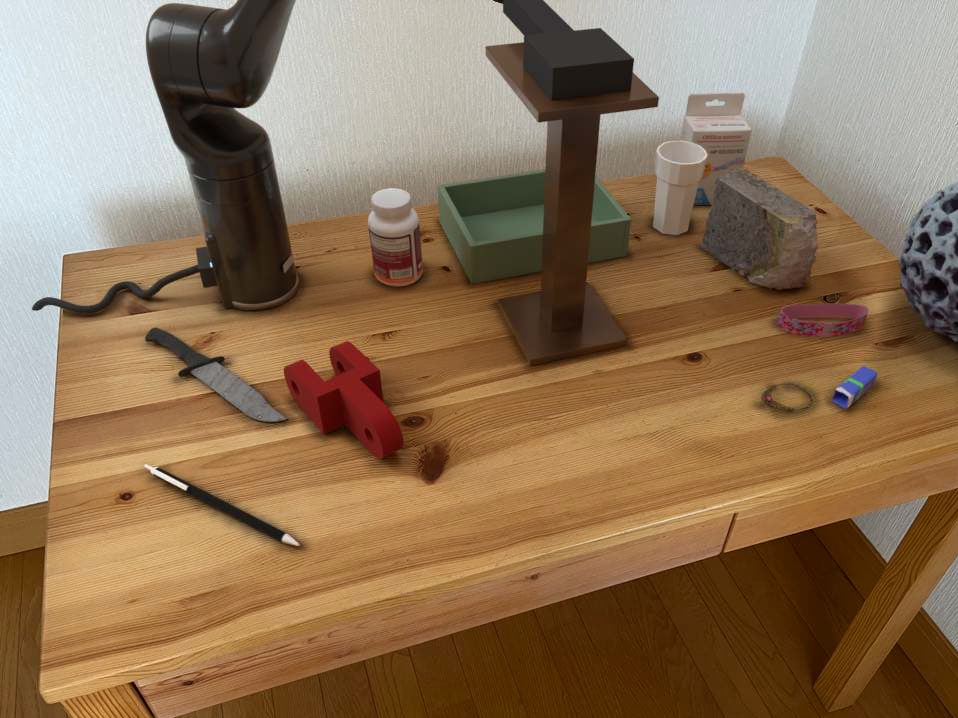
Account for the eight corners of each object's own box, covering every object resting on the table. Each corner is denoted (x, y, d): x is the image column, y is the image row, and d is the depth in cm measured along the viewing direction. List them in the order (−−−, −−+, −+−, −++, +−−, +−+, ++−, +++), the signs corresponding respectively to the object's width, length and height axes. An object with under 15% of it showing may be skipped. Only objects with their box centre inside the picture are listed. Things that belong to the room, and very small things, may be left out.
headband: (876, 322, 102) (871, 336, 103) (865, 301, 105) (860, 316, 106) (786, 324, 101) (782, 339, 103) (778, 304, 104) (774, 318, 106)
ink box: (680, 207, 124) (696, 109, 114) (671, 189, 127) (686, 93, 117) (736, 204, 125) (757, 107, 115) (726, 187, 128) (746, 91, 118)
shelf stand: (530, 366, 97) (538, 112, 77) (487, 287, 108) (485, 45, 88) (626, 345, 101) (659, 96, 80) (576, 270, 111) (593, 34, 91)
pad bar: (551, 100, 79) (552, 67, 77) (481, 16, 94) (480, -13, 91) (631, 90, 81) (634, 58, 79) (549, 10, 96) (550, -19, 94)
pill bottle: (397, 255, 113) (389, 179, 105) (433, 271, 110) (428, 195, 103) (364, 276, 109) (354, 199, 101) (400, 294, 106) (393, 216, 99)
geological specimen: (710, 174, 109) (796, 229, 100) (745, 163, 112) (831, 216, 103) (695, 245, 117) (774, 303, 108) (728, 233, 119) (808, 289, 110)
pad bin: (471, 284, 108) (470, 246, 105) (439, 221, 119) (437, 184, 115) (627, 256, 114) (631, 219, 110) (583, 198, 125) (585, 163, 121)
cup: (682, 243, 117) (694, 169, 109) (638, 228, 119) (648, 155, 112) (701, 221, 121) (715, 149, 114) (659, 208, 124) (670, 136, 116)
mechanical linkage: (288, 394, 93) (280, 357, 89) (347, 369, 96) (341, 333, 93) (363, 478, 83) (357, 441, 80) (425, 447, 87) (422, 410, 84)
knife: (260, 440, 88) (299, 415, 91) (258, 433, 87) (297, 408, 90) (134, 343, 97) (172, 323, 100) (131, 336, 97) (170, 316, 100)
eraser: (835, 388, 93) (851, 396, 92) (862, 364, 97) (878, 372, 96) (830, 401, 95) (847, 410, 94) (857, 377, 98) (873, 385, 97)
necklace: (751, 392, 95) (753, 385, 94) (799, 381, 97) (801, 375, 96) (770, 418, 92) (773, 412, 92) (819, 407, 94) (822, 400, 93)
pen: (150, 462, 84) (142, 460, 83) (304, 541, 78) (298, 540, 77) (146, 470, 84) (138, 468, 83) (300, 550, 78) (293, 549, 77)
